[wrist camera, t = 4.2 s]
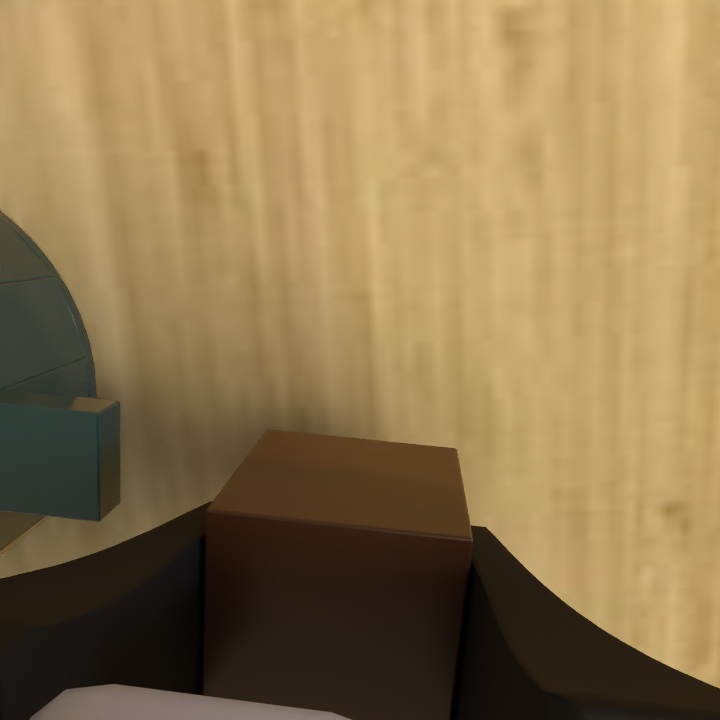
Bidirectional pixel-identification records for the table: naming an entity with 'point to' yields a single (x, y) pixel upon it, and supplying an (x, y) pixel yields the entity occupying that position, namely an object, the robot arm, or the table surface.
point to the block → (338, 578)
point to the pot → (48, 401)
